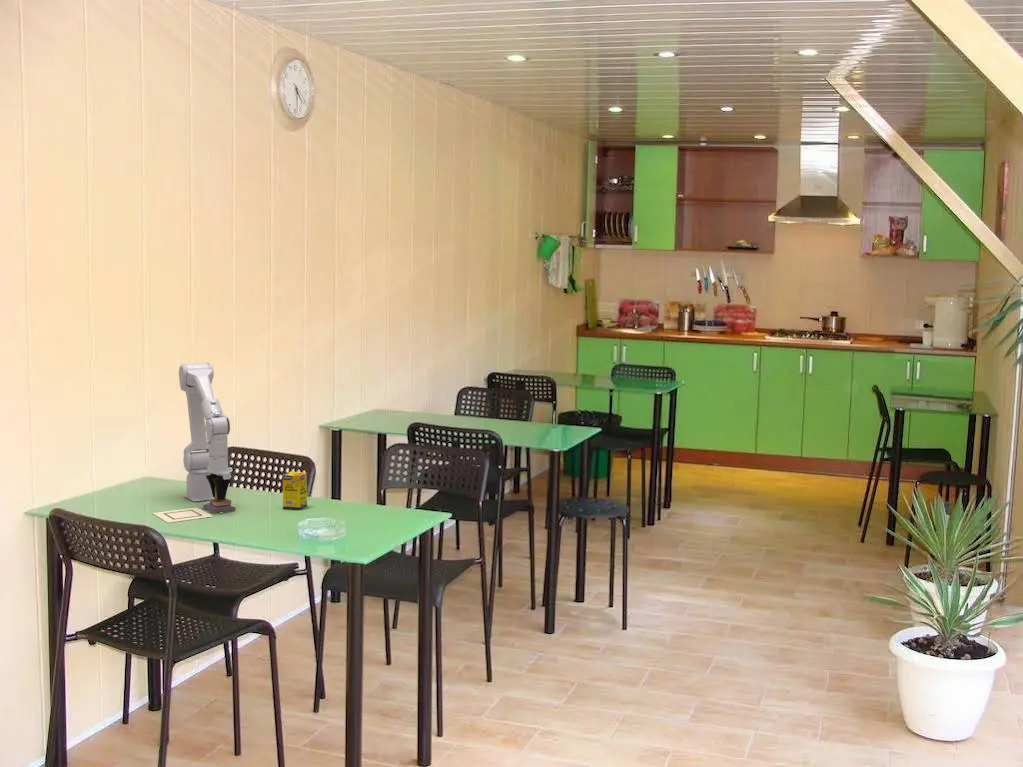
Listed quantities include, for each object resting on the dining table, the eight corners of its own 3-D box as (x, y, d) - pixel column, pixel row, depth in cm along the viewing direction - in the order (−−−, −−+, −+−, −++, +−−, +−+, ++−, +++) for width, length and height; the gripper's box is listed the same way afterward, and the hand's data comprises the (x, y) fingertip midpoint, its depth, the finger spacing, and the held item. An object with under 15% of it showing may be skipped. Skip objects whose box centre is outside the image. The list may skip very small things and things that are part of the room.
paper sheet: (152, 513, 349) (152, 512, 349) (196, 508, 357) (196, 507, 357) (167, 523, 338) (167, 522, 338) (213, 516, 346) (213, 515, 346)
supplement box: (300, 510, 356) (300, 475, 355) (282, 509, 357) (282, 474, 356) (307, 506, 362) (307, 472, 361) (289, 505, 363) (289, 471, 362)
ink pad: (203, 508, 357) (203, 503, 357) (224, 505, 361) (224, 500, 361) (213, 514, 350) (213, 509, 350) (235, 511, 354) (235, 506, 354)
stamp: (209, 504, 356) (209, 482, 355) (224, 502, 359) (224, 480, 358) (215, 507, 352) (215, 484, 351) (231, 505, 355) (230, 483, 354)
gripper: (239, 457, 350) (240, 501, 352) (221, 450, 362) (222, 492, 363) (217, 460, 346) (218, 503, 347) (200, 452, 358) (201, 495, 359)
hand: (219, 498), depth 355 cm, fingers closed on stamp, 3 cm apart
